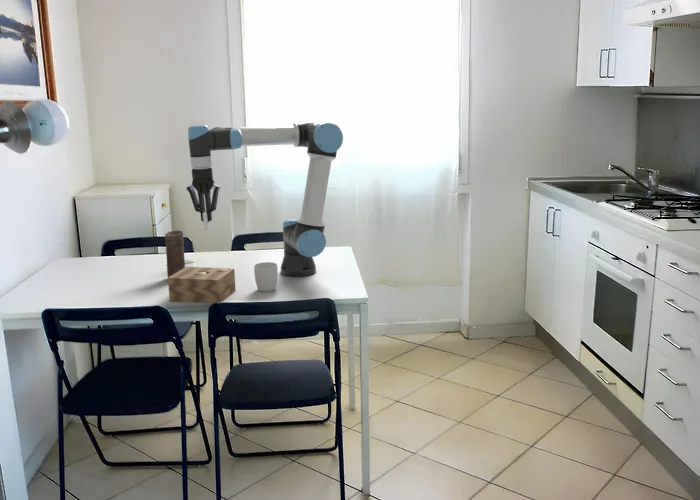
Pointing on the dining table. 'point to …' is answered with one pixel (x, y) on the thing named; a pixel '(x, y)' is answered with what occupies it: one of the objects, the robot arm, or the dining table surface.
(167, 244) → the brown cylindrical vase
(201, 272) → the beech dowel
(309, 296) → the dining table surface
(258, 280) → the mug
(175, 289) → the socket block
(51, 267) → the dining table surface
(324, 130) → the robot arm
